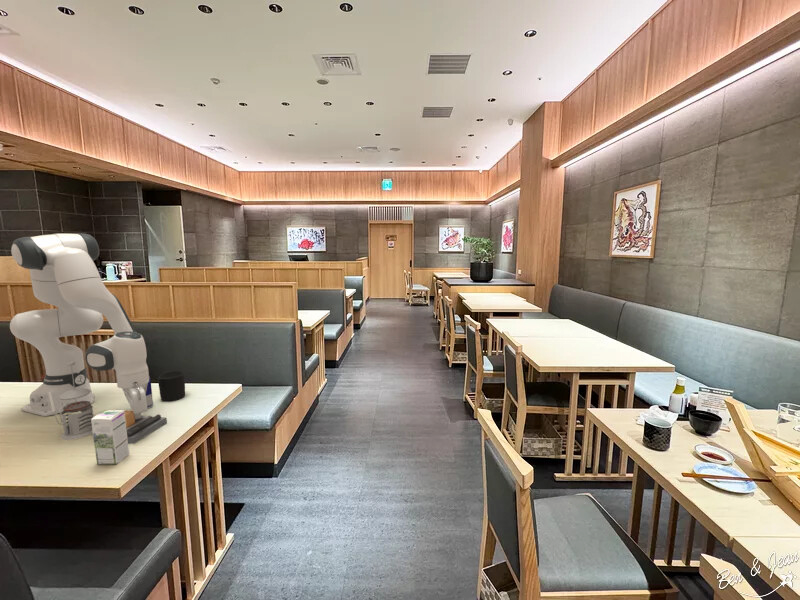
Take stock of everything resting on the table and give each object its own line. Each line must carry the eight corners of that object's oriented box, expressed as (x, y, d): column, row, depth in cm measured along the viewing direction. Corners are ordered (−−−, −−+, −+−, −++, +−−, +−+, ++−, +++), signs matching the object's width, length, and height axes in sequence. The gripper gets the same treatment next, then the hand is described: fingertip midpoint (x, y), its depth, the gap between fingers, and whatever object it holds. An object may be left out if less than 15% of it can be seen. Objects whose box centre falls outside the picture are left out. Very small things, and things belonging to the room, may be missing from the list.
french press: (106, 425, 127) (98, 357, 123) (76, 443, 116) (66, 368, 112) (79, 424, 127) (70, 356, 124) (46, 442, 116) (35, 368, 112)
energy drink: (156, 404, 144) (153, 376, 142) (145, 410, 138) (142, 381, 137) (144, 404, 144) (141, 375, 142) (133, 410, 139) (129, 380, 137)
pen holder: (191, 393, 154) (189, 371, 153) (174, 403, 145) (172, 379, 144) (171, 392, 156) (169, 370, 154) (154, 401, 147) (151, 378, 145)
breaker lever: (119, 429, 120) (117, 414, 119) (127, 424, 123) (125, 410, 122) (127, 429, 119) (125, 415, 119) (135, 425, 122) (133, 411, 122)
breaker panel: (95, 440, 117) (93, 430, 117) (132, 420, 131) (131, 410, 130) (133, 443, 115) (132, 433, 115) (166, 422, 129) (166, 413, 129)
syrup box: (130, 453, 110) (125, 409, 108) (116, 465, 104) (110, 418, 102) (111, 453, 110) (105, 409, 108) (95, 465, 104) (89, 418, 102)
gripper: (150, 384, 117) (154, 424, 119) (139, 369, 132) (142, 405, 134) (126, 390, 113) (131, 431, 115) (117, 373, 128) (121, 410, 130)
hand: (137, 416), depth 125 cm, fingers closed
